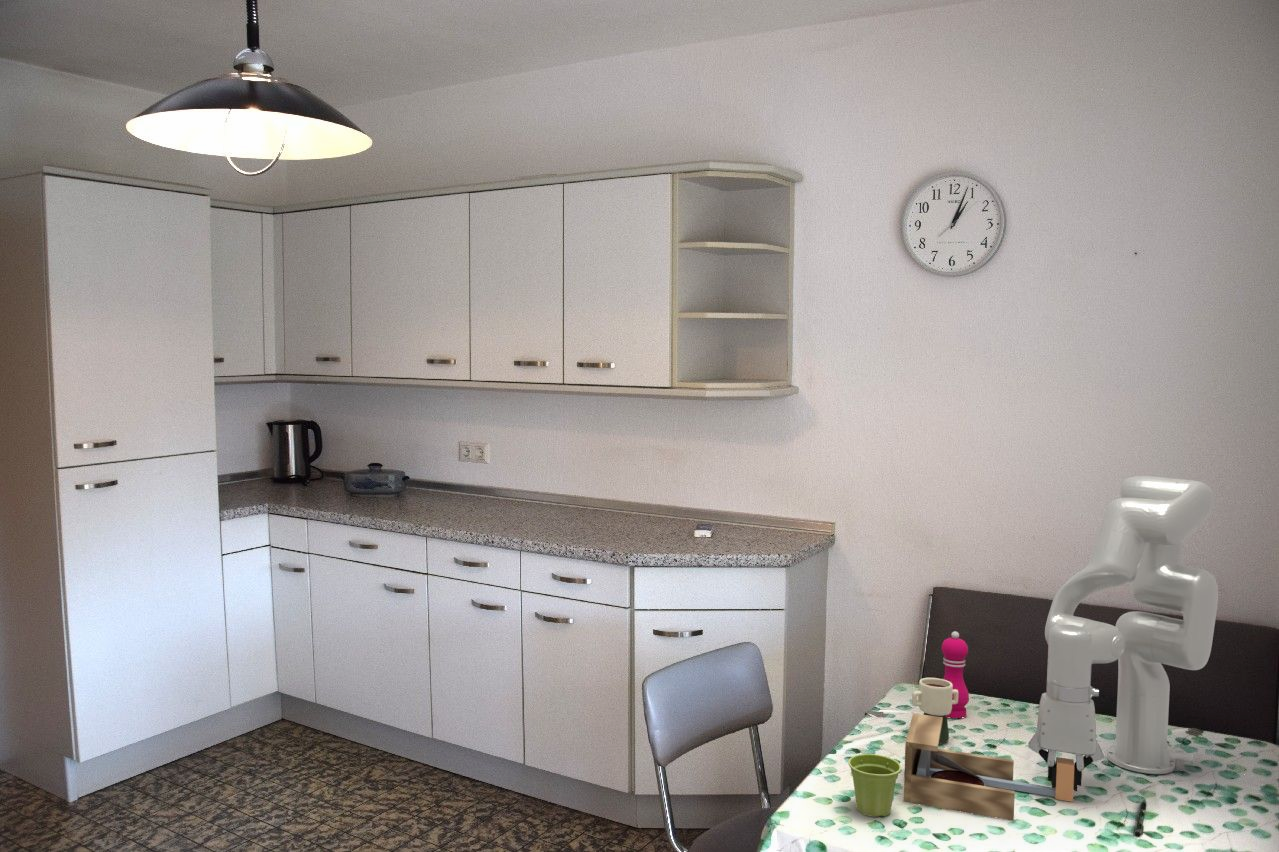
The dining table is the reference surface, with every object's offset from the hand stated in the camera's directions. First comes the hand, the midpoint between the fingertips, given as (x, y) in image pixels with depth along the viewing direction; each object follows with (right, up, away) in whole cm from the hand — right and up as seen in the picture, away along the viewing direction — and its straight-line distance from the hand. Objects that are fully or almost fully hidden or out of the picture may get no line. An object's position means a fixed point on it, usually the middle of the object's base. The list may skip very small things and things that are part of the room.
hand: (1064, 785), depth 179 cm
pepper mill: (-6, 0, +45) cm, 45 cm away
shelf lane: (-19, -2, +1) cm, 19 cm away
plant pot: (-38, -2, -7) cm, 39 cm away
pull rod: (-13, -2, -1) cm, 14 cm away
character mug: (-16, -1, +28) cm, 32 cm away
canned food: (-20, -2, +1) cm, 20 cm away
